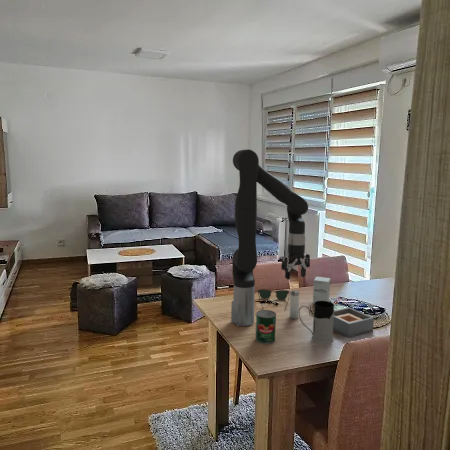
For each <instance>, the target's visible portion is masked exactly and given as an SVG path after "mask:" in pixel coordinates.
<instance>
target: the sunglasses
mask: <svg viewBox="0 0 450 450" xmlns="http://www.w3.org/2000/svg"><path fill="white" fill-rule="evenodd" d="M290 291H291V290H285V289H284V290H283V289H279V290H270V289H257V295H258V299H259V301H260V305H261V307H262V309H264V307H263V303H262V302H261V299H262V298H269V299H270V298H271V296H272V293H275V297H276V298H277V300H286V299H288V300H287V303H286V305H285V308H284V310H287V309H286V308H287V306H288V303H289V302H290V297H288V296H289V294H290ZM287 297H288V298H287Z"/></svg>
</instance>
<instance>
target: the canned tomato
mask: <svg viewBox="0 0 450 450" xmlns="http://www.w3.org/2000/svg"><path fill="white" fill-rule="evenodd" d="M255 320H256V321H255V342H257V343H259V344H264V345H268V344H274V343H275V341H276V329H277V327H276V325H277V313H276V312H275V311H274V310H270V309H262V310H258V311H257V312H256V315H255Z"/></svg>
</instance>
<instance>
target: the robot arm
mask: <svg viewBox="0 0 450 450" xmlns="http://www.w3.org/2000/svg"><path fill="white" fill-rule="evenodd" d="M259 160H260V159H259V155H258V154H257V152H256V151H254V150H253V149H241V150H238V151H236V152H235V153H234V155H233V157H232V164H233V167H234V168H235V169H236V170H237V171H239V172H238V175H239V186H238V191H237V192H236V193H237V194H236V198H235V203H234V221H235V223H234V224H235V227H236V232H237V237H238V248H237V249H236V250H235V251H234V253H233V255H232V279H233V298H232V299H233V300H232V301H231V308H230V309H231V312H230V314H231V315H230V318H231V319H230V321H231V323H233V324H234V325H236V326H237V327H249V326H253V324H254V323H255V293H256V292H255V290H256V289H255V286H256V285H255V284H256V283H255V282H256V281H255V280H256V279H255V275H254V270H255V268H256V267H257V264H258V252H257V242H256V241H257V240H256V238H257V213H258V210H257V209H258V206H257V205H258V204H257V203H258V202H257V201H258V200H257V199H258V193H257V192H258V191H257V189H258V188H257V187H258V186H257V184H259V185H260V186H261V187H262V188H264V189H265V190H266V192H268V193H269V194H270V195H272V196H273V197H274V198H275V199H276V200H277V201H278V202H280V203H282V204H284V205H286V214H287V219H288V237H287V254H288V256H282V257H281V268H280V269H281V270H282V271H284V278H285V279H286V280H287V281H288V280H290V279H291V270H292V269H293V268H294V267H295V266H300V268H301V269H300V277H302V278H305V277H306V274H307V269H308V268H310V267H311V256H310V254H309V253H306V251H305V250H306V234H305V232H306V221H304V220H303V217H302V215H305V214H306V213H307V212H308V210H309V204H308V202H307V200H306V199H304V198H303V197H302V196H301V195H299V194H297V193H296V192H294V191H293V190H292V189H291V188H290V187H288V186H287V184H285V183H284V182H283V181H282V180H280V179H279V178H278V177H276V176H274V175H273V174H271V173H270V172H268V171H267V170H266V169H264V168H263V167H262V166H261V165H260V161H259Z"/></svg>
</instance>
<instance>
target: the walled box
mask: <svg viewBox="0 0 450 450" xmlns="http://www.w3.org/2000/svg"><path fill="white" fill-rule="evenodd" d="M374 319H375V317H374V316H370V315H368V314H366V313H364V312H361V311H359V310H356V309H354V308H352V307H345V308H340V309H336V310H335V309H334V322H333V332H334V331H335V332H336V333H338V334H340V335H342V336H344V337H346V338H348V339H349V338H353V337H357V336H360V335H361V336H362V335H364V334H368V333H372V332H374Z"/></svg>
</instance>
